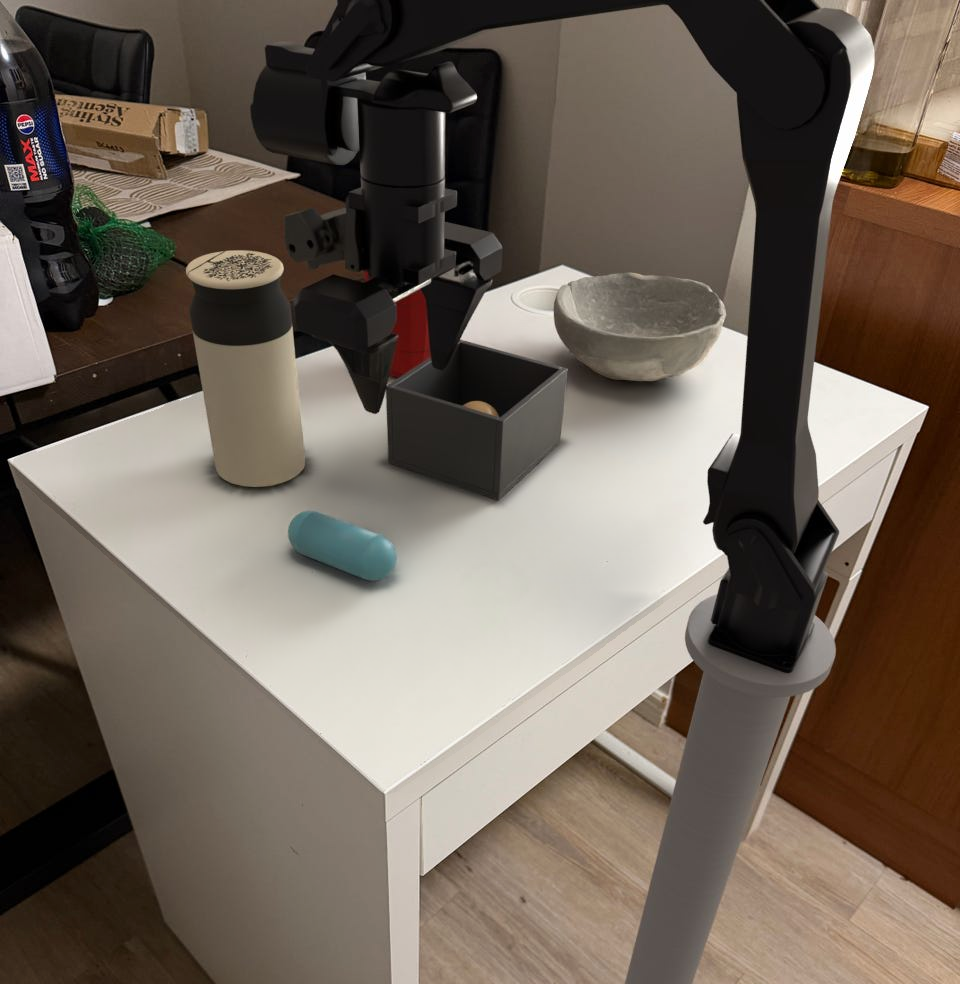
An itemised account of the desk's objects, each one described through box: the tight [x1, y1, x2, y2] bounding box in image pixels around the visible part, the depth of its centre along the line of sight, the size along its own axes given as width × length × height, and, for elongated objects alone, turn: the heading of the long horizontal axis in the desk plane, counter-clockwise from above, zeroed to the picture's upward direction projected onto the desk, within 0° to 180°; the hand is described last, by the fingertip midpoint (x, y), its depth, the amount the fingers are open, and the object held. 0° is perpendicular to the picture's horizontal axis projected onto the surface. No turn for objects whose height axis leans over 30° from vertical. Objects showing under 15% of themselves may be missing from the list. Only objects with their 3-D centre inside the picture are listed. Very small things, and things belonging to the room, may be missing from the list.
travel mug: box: [185, 249, 306, 488], centre depth 80 cm, size 8×8×18 cm
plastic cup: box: [362, 271, 431, 379], centre depth 99 cm, size 11×11×12 cm
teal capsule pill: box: [287, 510, 398, 582], centre depth 74 cm, size 10×4×4 cm, turn 60°
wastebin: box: [385, 339, 569, 501], centre depth 87 cm, size 12×12×8 cm
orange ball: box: [463, 401, 499, 417], centre depth 88 cm, size 4×4×4 cm
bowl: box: [553, 272, 727, 382], centre depth 102 cm, size 18×18×8 cm
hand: (406, 389), depth 75 cm, fingers open, 9 cm apart
